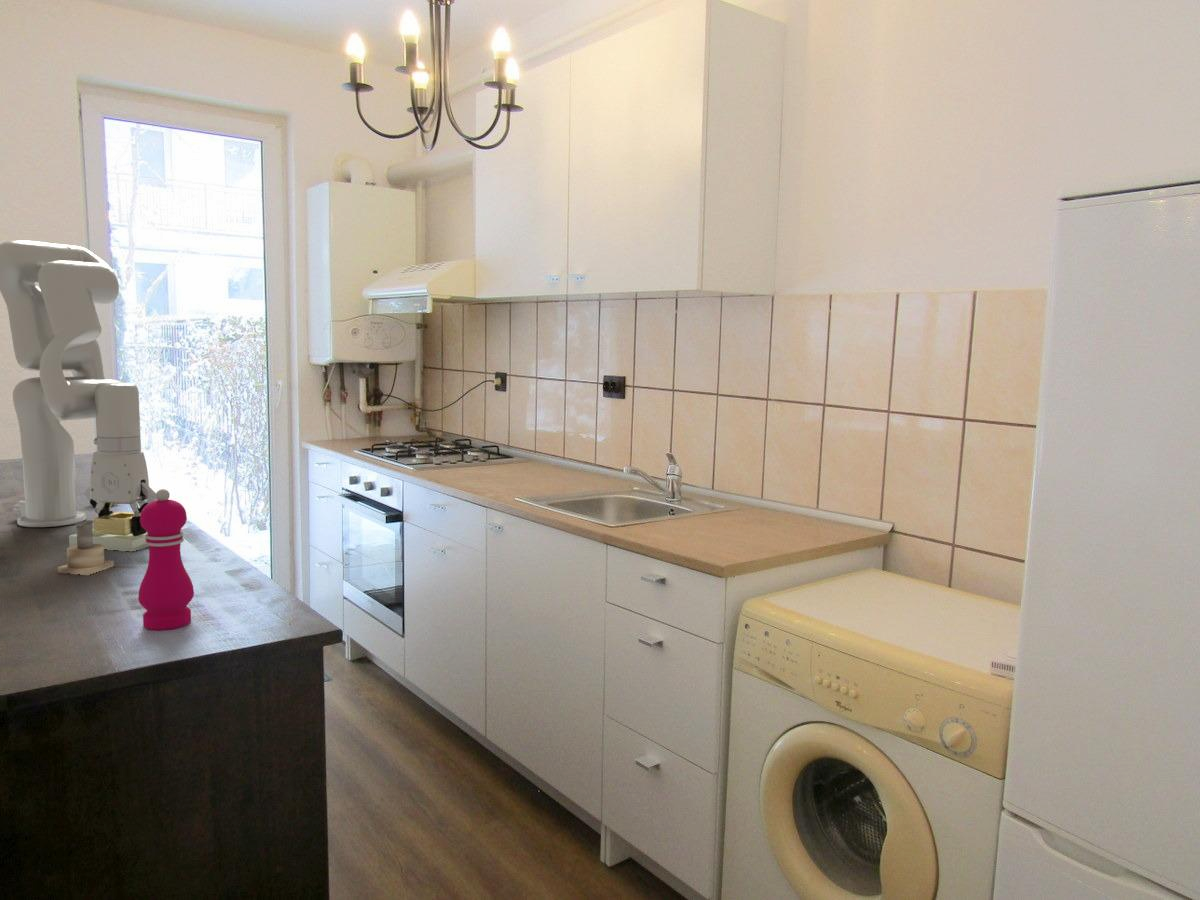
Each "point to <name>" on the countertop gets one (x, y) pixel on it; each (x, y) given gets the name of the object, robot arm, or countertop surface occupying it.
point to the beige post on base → (85, 553)
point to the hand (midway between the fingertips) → (123, 532)
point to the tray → (115, 541)
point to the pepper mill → (165, 566)
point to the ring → (114, 523)
